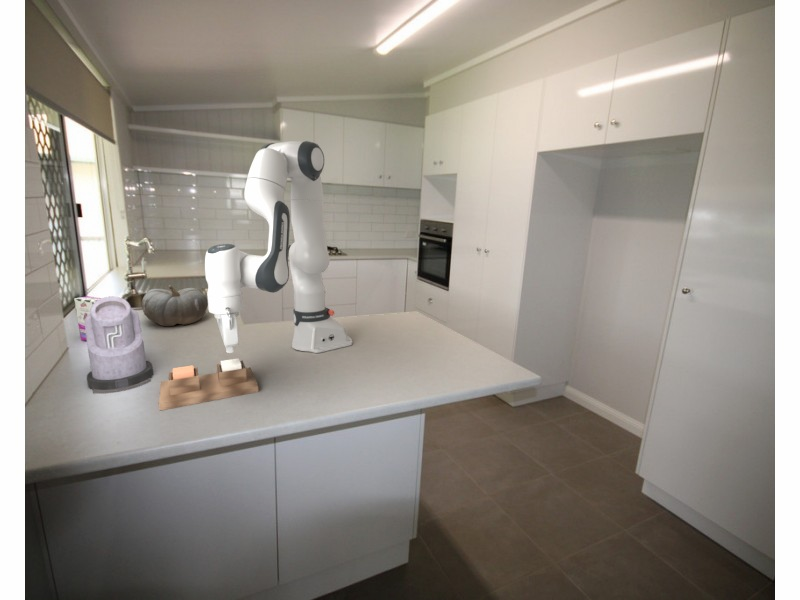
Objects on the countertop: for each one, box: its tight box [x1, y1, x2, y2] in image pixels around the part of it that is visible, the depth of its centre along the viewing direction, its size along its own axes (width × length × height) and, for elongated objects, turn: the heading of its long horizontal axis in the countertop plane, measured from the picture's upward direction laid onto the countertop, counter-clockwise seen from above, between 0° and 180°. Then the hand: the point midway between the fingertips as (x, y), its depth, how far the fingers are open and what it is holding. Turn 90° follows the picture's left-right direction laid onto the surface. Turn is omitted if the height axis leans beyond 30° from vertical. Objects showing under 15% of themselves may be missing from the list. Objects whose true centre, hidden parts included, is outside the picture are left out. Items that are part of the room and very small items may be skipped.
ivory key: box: [220, 357, 242, 372], centre depth 114 cm, size 5×5×3 cm
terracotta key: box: [172, 364, 195, 380], centre depth 109 cm, size 5×5×3 cm
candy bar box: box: [73, 295, 102, 342], centre depth 149 cm, size 11×5×16 cm, turn 68°
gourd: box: [141, 284, 208, 327], centre depth 174 cm, size 25×25×17 cm
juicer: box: [85, 296, 154, 395], centre depth 120 cm, size 30×16×24 cm, turn 35°
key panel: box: [158, 360, 259, 411], centre depth 112 cm, size 24×14×6 cm, turn 118°
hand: (229, 351), depth 113 cm, fingers closed
